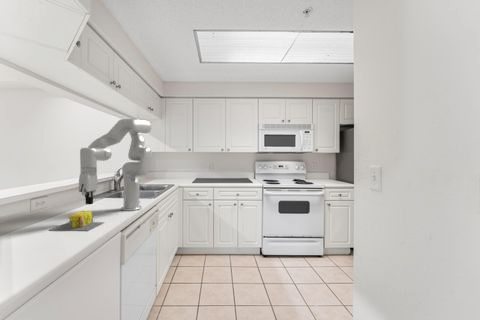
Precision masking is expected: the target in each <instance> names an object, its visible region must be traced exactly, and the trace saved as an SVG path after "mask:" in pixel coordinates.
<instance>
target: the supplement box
mask: <svg viewBox="0 0 480 320" xmlns="http://www.w3.org/2000/svg"><path fill="white" fill-rule="evenodd" d="M69 222H70V224H69V227H70V228H81V227H83V226H85V225H87V224H89V223H91V222H94V211H93V210H81V211H79V212H78V211H77V212H76V213H74V214H71V215H69Z"/></svg>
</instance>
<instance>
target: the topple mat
mask: <svg viewBox="0 0 480 320" xmlns="http://www.w3.org/2000/svg"><path fill="white" fill-rule="evenodd" d="M69 224H70V221H68V222H65V223H62V224H61V225H57V226H54V227H52V228H50V229H49V231H54V232H55V231H57V232H58V231H61V232H65V231H67V232H69V231H70V232H71V231H72V232H90V231H91V230H93V229H95V228H97V227H99V226H101V225H103V224H105V222H104V221H103V222H102V221H101V222H100V221H96V222H95V221H93V222H91V223H89V224H87V225H85V226H83V227H81V228H70V227H69Z"/></svg>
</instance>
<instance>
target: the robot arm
mask: <svg viewBox="0 0 480 320" xmlns="http://www.w3.org/2000/svg"><path fill="white" fill-rule="evenodd" d="M151 131H152V124H151V123H150V121H148V120H144V119H137V118H123V119H119V120H118V121H117V122H116V123H115V124H114V126H113V127H111V128H110V130H109V131H108V132H107V133H105V134H104V135H101V136H100V137H98V138H96V139H94V141H92V142H91V143H90V144H89V146H88V147H82V148H80V151H79V156H80V158H79V160H80V162H79V163H80V173H79V177H78V192H79V193H81V195H83V196H84V198H85V205H93V204H94V195H95V193H96V191H97V190H98V188H99V186H98V185H99V184H98V183H99V180H98V173H97V171H98V170H97V168H98V165H97V161H99V162H101V161H104V162H105V161H108V160H110V159H111V157H112V151H111V149H109V148H108V147H110V146H114V145H117V144H119V143H120V142H122V140H123V139H124V138H125V136H127V134H128V133H129V136H130V138H131V142H130V146H129V149H128V155H127V156H128V159H129V160H130V161H129V162H125V163H124V164H123V165H122V168H121V171H122V176H123V206H122V207H121V208H120V209H121V211H127V212H131V211H132V212H133V211H138V209H139V210H141V209H142V205H140V204H141V200H140V182H139V181H140V180H139V178H140V177H141V178H142V177H146V176H147V175H149V171H150V168H151V164H152V159H153V152H152V149H151V148H150V147H148V146H147V147H146V146H145V139H144V136H143V135H142V134H149V133H150V132H151ZM138 177H139V178H138Z"/></svg>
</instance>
